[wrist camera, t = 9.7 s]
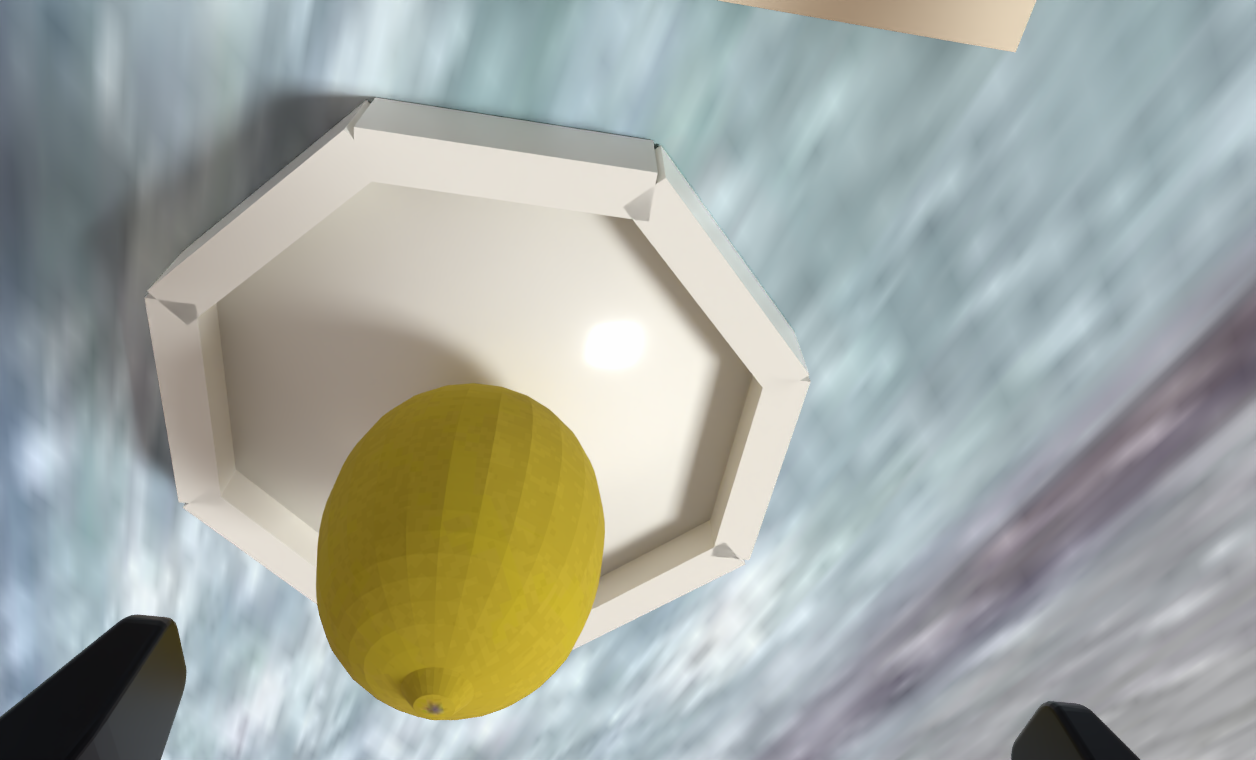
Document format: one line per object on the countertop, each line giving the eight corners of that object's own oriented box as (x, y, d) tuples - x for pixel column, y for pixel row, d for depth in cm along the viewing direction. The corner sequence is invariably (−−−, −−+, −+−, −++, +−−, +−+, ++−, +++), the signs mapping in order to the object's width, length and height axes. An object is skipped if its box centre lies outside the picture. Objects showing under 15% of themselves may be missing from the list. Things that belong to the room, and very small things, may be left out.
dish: (849, 170, 18) (871, 204, 17) (707, 613, 26) (713, 664, 25) (153, 63, 17) (109, 90, 15) (223, 568, 24) (198, 618, 23)
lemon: (643, 455, 21) (659, 752, 15) (453, 530, 23) (390, 834, 16) (532, 277, 19) (490, 546, 12) (322, 374, 20) (180, 665, 13)
